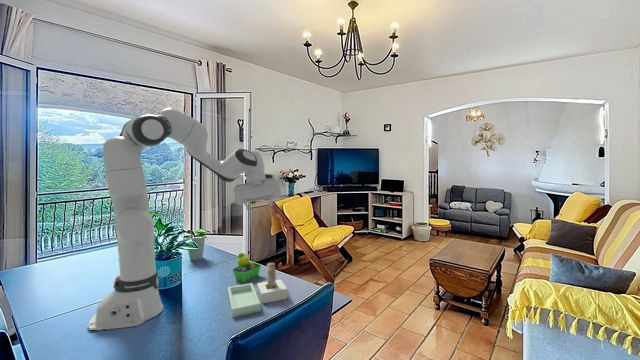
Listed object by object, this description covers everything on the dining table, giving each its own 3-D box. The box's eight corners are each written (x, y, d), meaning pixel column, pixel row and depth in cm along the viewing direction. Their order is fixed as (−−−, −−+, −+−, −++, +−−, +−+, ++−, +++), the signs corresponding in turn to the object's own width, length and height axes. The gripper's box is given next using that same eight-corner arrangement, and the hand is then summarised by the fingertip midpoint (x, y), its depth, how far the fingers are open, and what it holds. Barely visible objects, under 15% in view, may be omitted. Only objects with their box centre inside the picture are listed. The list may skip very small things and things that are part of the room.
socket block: (262, 303, 114) (261, 293, 114) (257, 292, 124) (257, 283, 123) (287, 298, 118) (287, 288, 118) (281, 288, 127) (280, 279, 127)
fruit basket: (242, 284, 132) (241, 259, 132) (230, 279, 138) (229, 255, 137) (262, 275, 142) (261, 252, 141) (249, 271, 147) (248, 248, 146)
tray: (232, 317, 105) (231, 309, 105) (227, 294, 123) (227, 287, 123) (260, 311, 109) (260, 303, 109) (252, 289, 126) (252, 282, 126)
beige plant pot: (203, 254, 173) (202, 229, 172) (209, 259, 165) (208, 232, 164) (183, 258, 167) (182, 232, 166) (189, 263, 158) (187, 236, 157)
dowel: (269, 298, 119) (267, 266, 118) (267, 294, 122) (266, 263, 121) (276, 296, 120) (275, 265, 119) (275, 293, 123) (274, 262, 122)
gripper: (231, 181, 132) (233, 208, 125) (277, 174, 136) (282, 200, 128) (234, 189, 138) (236, 215, 130) (278, 182, 141) (283, 207, 133)
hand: (259, 207), depth 129 cm, fingers open, 8 cm apart
